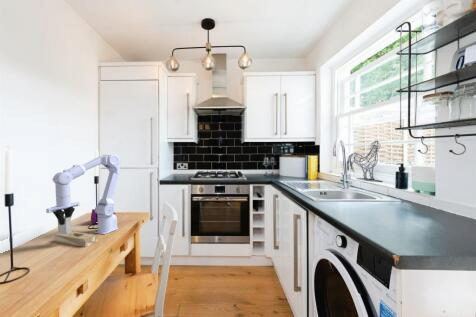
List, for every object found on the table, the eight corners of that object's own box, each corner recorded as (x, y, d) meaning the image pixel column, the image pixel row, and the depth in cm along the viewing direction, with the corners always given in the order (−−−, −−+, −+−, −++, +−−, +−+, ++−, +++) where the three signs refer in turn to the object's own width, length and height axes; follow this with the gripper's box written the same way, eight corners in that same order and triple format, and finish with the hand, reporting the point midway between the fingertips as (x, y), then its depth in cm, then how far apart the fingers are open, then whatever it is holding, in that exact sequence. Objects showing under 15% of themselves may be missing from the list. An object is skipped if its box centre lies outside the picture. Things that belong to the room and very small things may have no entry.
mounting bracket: (101, 227, 160) (89, 223, 144) (102, 214, 164) (92, 209, 147) (115, 226, 162) (106, 221, 146) (117, 214, 165) (108, 208, 149)
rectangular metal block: (63, 231, 118) (62, 216, 118) (71, 232, 116) (70, 217, 116) (58, 233, 116) (57, 217, 116) (66, 234, 114) (65, 218, 113)
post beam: (68, 237, 125) (67, 230, 125) (97, 241, 118) (97, 235, 117) (55, 241, 119) (54, 234, 119) (85, 246, 112) (85, 239, 111)
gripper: (72, 193, 123) (74, 218, 124) (41, 199, 110) (43, 227, 110) (81, 194, 121) (83, 219, 121) (51, 200, 107) (52, 229, 108)
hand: (64, 223), depth 116 cm, fingers closed on rectangular metal block, 2 cm apart
